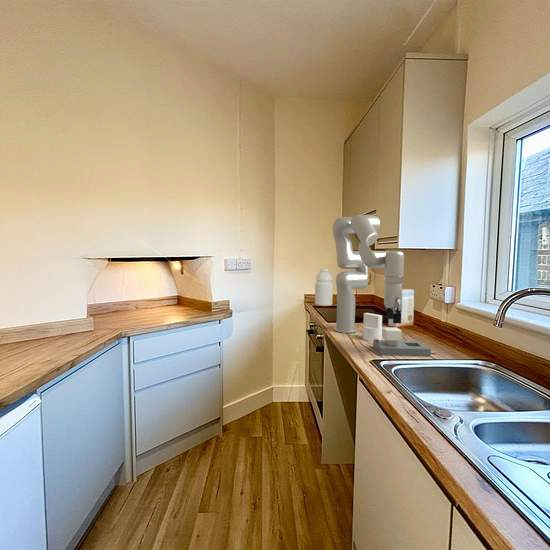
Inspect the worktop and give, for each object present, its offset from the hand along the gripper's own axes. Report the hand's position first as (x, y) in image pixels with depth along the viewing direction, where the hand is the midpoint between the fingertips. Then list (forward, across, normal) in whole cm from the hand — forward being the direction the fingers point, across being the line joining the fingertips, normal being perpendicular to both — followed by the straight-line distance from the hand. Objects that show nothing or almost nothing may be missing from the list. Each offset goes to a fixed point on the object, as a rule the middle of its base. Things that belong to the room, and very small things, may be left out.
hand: (393, 320), depth 143 cm
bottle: (+10, -121, -15) cm, 122 cm away
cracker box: (+12, -50, +21) cm, 56 cm away
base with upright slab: (+13, -20, -3) cm, 24 cm away
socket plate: (+13, -1, +4) cm, 14 cm away
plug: (+10, -1, 0) cm, 10 cm away
